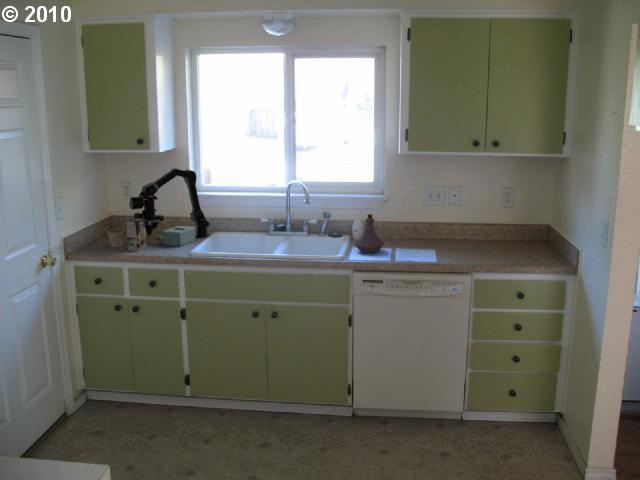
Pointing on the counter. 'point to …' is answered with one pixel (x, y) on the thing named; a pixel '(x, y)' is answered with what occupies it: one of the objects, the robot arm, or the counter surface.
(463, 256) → the counter surface
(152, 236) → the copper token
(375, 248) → the flask
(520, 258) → the counter surface
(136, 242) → the coffee box
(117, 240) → the flower pot
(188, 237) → the box
